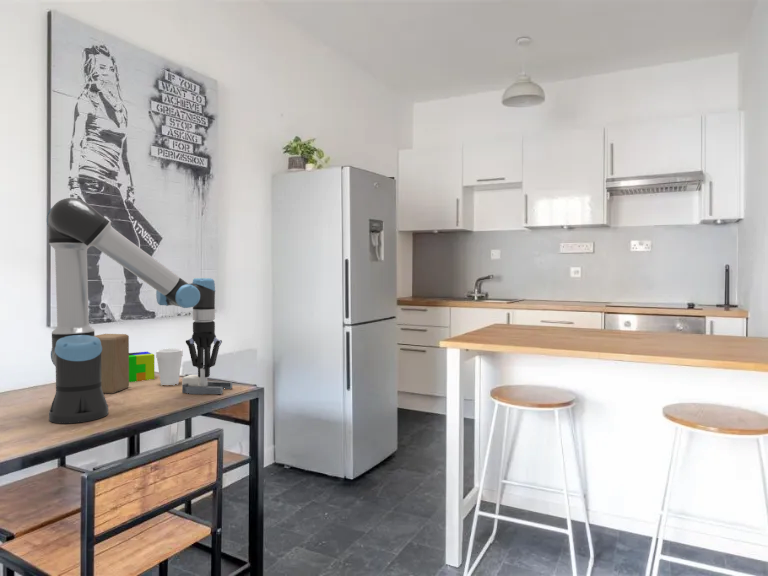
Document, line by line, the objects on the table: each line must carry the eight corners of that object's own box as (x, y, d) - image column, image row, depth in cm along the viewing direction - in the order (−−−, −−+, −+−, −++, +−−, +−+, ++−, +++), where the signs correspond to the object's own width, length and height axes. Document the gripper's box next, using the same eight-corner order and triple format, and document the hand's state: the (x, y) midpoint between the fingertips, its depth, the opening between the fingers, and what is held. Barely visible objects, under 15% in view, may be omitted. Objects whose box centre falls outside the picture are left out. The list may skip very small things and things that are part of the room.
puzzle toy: (147, 375, 215) (147, 351, 215) (154, 379, 208) (154, 354, 207) (120, 378, 209) (120, 353, 209) (127, 382, 201) (127, 357, 201)
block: (198, 392, 185) (198, 378, 185) (182, 391, 186) (182, 378, 185) (205, 388, 191) (205, 375, 191) (190, 388, 191) (190, 374, 191)
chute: (220, 395, 182) (220, 386, 182) (182, 393, 183) (182, 384, 183) (232, 388, 192) (232, 380, 192) (196, 387, 194) (196, 378, 193)
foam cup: (159, 387, 192) (159, 352, 192) (153, 383, 200) (153, 349, 199) (185, 384, 198) (185, 350, 197) (179, 380, 205) (179, 347, 205)
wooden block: (130, 387, 192) (129, 333, 191) (113, 394, 182) (113, 337, 181) (104, 387, 193) (104, 333, 192) (86, 393, 183) (86, 336, 182)
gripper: (225, 320, 190) (225, 384, 191) (191, 319, 191) (191, 383, 192) (216, 322, 183) (216, 388, 183) (181, 321, 184) (181, 387, 185)
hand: (203, 385), depth 188 cm, fingers closed
